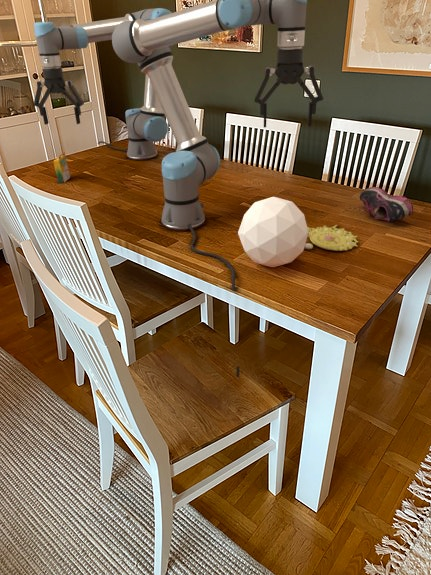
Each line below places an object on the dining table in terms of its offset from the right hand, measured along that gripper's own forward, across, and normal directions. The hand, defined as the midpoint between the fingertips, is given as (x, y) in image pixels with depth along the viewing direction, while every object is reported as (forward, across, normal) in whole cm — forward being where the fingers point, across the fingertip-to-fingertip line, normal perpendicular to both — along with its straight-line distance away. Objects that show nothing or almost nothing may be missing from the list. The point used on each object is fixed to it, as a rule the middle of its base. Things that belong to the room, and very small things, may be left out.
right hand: (287, 126), depth 137 cm
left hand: (+7, -91, +44) cm, 101 cm away
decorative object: (+32, +14, -13) cm, 38 cm away
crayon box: (+31, -95, +44) cm, 109 cm away
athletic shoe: (+33, +34, +6) cm, 47 cm away
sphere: (+32, -4, -28) cm, 43 cm away
